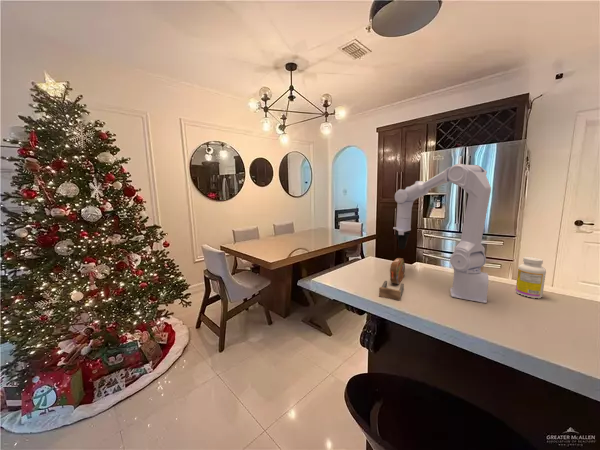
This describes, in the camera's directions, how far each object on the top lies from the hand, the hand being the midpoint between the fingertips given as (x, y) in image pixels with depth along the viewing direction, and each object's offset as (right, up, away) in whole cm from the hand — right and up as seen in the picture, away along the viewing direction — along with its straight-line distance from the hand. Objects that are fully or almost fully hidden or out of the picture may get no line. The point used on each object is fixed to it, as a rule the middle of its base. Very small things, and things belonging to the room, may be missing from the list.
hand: (402, 248), depth 103 cm
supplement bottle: (+33, -14, -23) cm, 43 cm away
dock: (-12, -13, -20) cm, 27 cm away
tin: (-6, -12, -9) cm, 16 cm away
